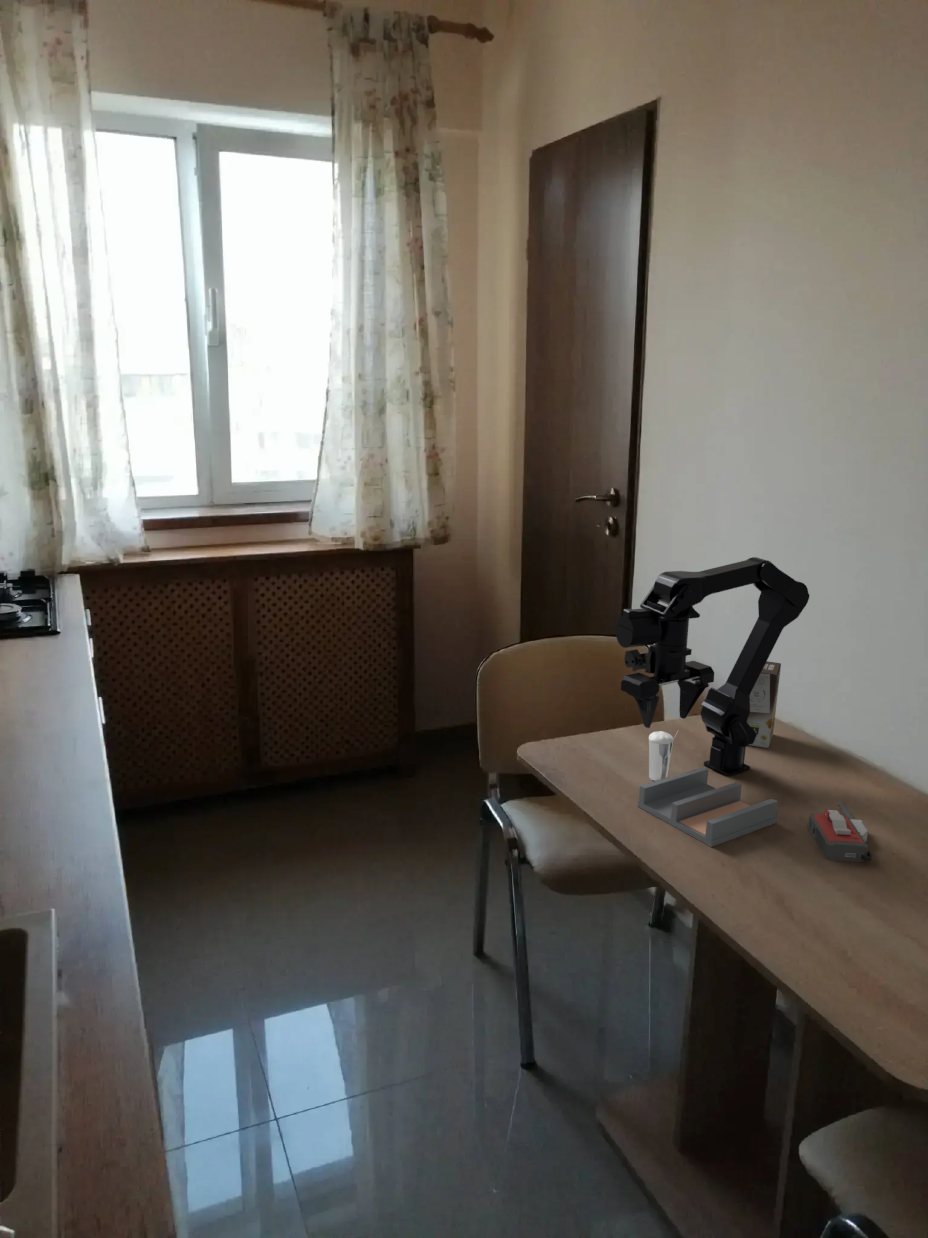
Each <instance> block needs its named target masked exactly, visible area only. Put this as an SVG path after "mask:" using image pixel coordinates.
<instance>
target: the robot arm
mask: <svg viewBox="0 0 928 1238" xmlns="http://www.w3.org/2000/svg"><path fill="white" fill-rule="evenodd" d="M748 585H753V586H754V587H755V588H756V589H757V591H759V592H760V594H759V597H758V600H757V601H758V602H757V605H758V606H757V609H758V610H757V611H758V617H757V619H756V621H755V624H754V626H753V628H752V630H751V632H750V634H749V635H748V638H747V639H746V642H745V643H744V646H743V647H742V650H741V651H740V653H739V655H738V657H737V660H736V662H735V663H734V665H733V667H732V668H731V671H730V673H729V674H728V678H727V679H726V681H725V683H724V684H723V685H721V686H720V687H718V688H714V687H709V686H710V684H709V683H711V684H712V683H714V680H715V671H714V669H713V668H712V666H710V665H708V664H705V663H703V662H702V663H701V662H698V661H696V660H691V661H690V660H689V661H687V656H692V650H693V649H692V648H689V647H688V640H689V639H688V637H689V626H690V625H689V624H690V623H689V622H690V620H691V619H698V618H700V617H701V614H700V613H699V612H698V611H697V610H696V609H695V608H694V606H695V605H697V604H700V603H701V602H703V600H704V599H705V598H706V597H708V596H710V595H713V594H718V593H722V592H725V591H729V590H732V589H737V588H741V587H744V586H748ZM809 600H810V593H809V589H808V587H807V585H806V584H805V583H804V582H801V581H797V580H796V579H794V578H793V577H791V576H789V575H788V574H787V573H785V572H783V571H782V570H781V569H779V567H777V566H776V565H775V564H774V563H773V562H772V561H770V560H767V559H763V558H760V557H757V556H754V557H753V556H752V557H749V558H748V559H746V560H742V561H738V562H733V563H729V564H726V565H725V564H724V565H721V566H717V567H713V568H709V569H704V570H701V571H686V570H685V571H684V570H675V571H674V570H672V571H671V570H670V571H664V572H661V573H660V574H658V576H657V578H656V580H655V581H654V584H653V586H652V587H651V589H650V590H649V591H648V593H647V594H646V596H645V597H644V599H643V600H642V602H640V605H639V607H640V608H634V609H633V608H624V609H623V610H622V615H621V616H620V617H619V618H618V620H617V622H616V624H615V627H614V628H615V630H614V631H615V637H616V640H617V642H618V645H620V646H621V647H622V648H625V649H626V648H637V647H645V646H649V647H648V651H643V652H642V651H641V652H640V651H639V650H638V649H631V650H630V649H629V650H625V653H624V665H625V667H626V668H627V669H629V668H631V671H632V672H635V673H632V674H627V675H624V676H623V677H622V678H621V681H620V691H623V692H625V693H626V694H627V695H629V696H631V697H633V698H634V700H635V702H636V704H637V707H638V709H639V713H640V717H641V719H642V723H643V726H644V727H645V728H646V729H650V728H651V726H652V723H653V721H654V718H655V713H656V711H657V710H656V709H657V707H658V703H659V698H660V696H658V693H659V692H660V687H663V686H665V685H669V684H675V683H677V685H678V687H679V707H678V708H679V710H678V711H679V718H681V719H683V720H684V719H686V718H687V716H688V715H689V713H690V711H691V710H692V708H693V707H694V706H695V704H696V702H697V701H698V699H699V698H700V697H701V695H702V694H703V692H704V691H705V690H706V688H708V687H709V690H708V691H707V694H706V697H705V699H704V700H703V702H702V703H701V704H700V706H701V709H700V717H701V722H703V724H704V725H705V730H706V732H707V733H710V734H712V735H714V736H713V737H711V739H712V740H711V746H710V751H709V759H708V760H706V761H704V762H703V765H704V766H706V767H707V768H710V769H712V770H715V771H717V772H718V773H721V774H723V775H726V776H733V775H736V774H739V773H741V772H745V771H748V770H751V766H750V765H747V764H745V757H746V749H747V747H748V746H750V745H749V744H753V743H754V740H755V738H756V735H757V733H756V732H755V731H754V730H753V729H752V728H751V727H750V726H749V724H748V723H747V719H748V717H749V714H750V693H751V691H752V689H753V687H754V685H755V683H756V681H757V679H758V677H759V675H760V673H761V671H762V669H763V667H764V665H765V663H766V662H767V661H768V660H769V658H770V656H771V654H772V651H773V649H774V648H775V645H776V643H777V642H778V640H779V637H780V635H781V633H782V632H783V629H784V628H785V627H786V626H788V625H790V624H791V623H792V622H794V621H795V620H796V619H798V617H800V615H801V613H802V612H803V610H804V609H805V607H807V604H808V602H809ZM659 602H661V603H662V604H661V603H659ZM663 604H666V605H667V606H666V605H663ZM638 670H640V671H641V670H644V672H645V673H647V674H652V676H649V675H646V674H644V673H640V672H637V671H638Z"/></svg>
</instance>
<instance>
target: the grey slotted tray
mask: <svg viewBox="0 0 928 1238" xmlns="http://www.w3.org/2000/svg"><path fill="white" fill-rule="evenodd" d="M708 777H709V768H708V767H707V768H706V767H705V766H702V767H698V768H696V769H691V770H688V771H686V772H682V773H679V774H675V775H671V776H669V777H668V776H667V778H665V779H661V780H658V781H651V782H647V783H645V784H642V785H639V795H638V801H637V807H638V808H640V809H642V810H643V811H645V812H647V813H649V814H650V815H652V816H654V817H657V818H658V819H660V820H662V821H663V822H665V823H667V824H669V825H670V826H672V827H674V828H676V829H678V830H679V831H681V832H683V833H685V834H687V835H689V836H691V837H692V838H694V839H696V840H698V841H700V842H701V843H704V844H705V845H707V846H709V847H711V848H713V847H715V846H718V845H721V844H723V843H726V842H729V841H731V840H734V839H737V838H740V837H742V836H745V835H747V834H748V835H749V834H750V833H753V832H755V831H759V830H761V829H764V828H766V827H770V826H772V825H774V824H776V823H777V809H778V800H776V799H773V798H769V799H766V800H763V801H760V802H758V803H755V804H752V805H751V804H749V803H747V802H746V801H745V802H744V801H743V800H741V795H742V786H743V785H742V784H741V783H739V782H737V781H735V782H732V783H729V784H726V785H723V786H720V787H717V788H715V787H714V786H712V785H710V784H708V780H709V779H708Z"/></svg>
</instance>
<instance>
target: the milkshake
mask: <svg viewBox="0 0 928 1238" xmlns="http://www.w3.org/2000/svg"><path fill="white" fill-rule="evenodd" d="M679 731H680V730H679V729H678V730H677V732H676V734H675V735H674V737H673V735H671V734H670V733H668V732H666V731H663V730H662V731H652V732H651V733H650V734H649V736H648V777H649V779H650V780H651V781H653V782H655V781H658V780H661V779H665V778H668V773H669V767H670V761H671V755H672V751H673V744H674V740H675V738H676V736H677V734H678V733H679Z"/></svg>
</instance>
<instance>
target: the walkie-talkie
mask: <svg viewBox="0 0 928 1238" xmlns="http://www.w3.org/2000/svg"><path fill="white" fill-rule="evenodd" d="M837 807H838V808H839V810H835V809H834V810H833V809H832V810H831V809H824V811H823V812H813V813H810V814H809V817H808V820H807V828H808V830H809V832H810V834H811V836H812V838H813V839H814V841H815V843H816V844H817V846H818V848H819V849H820V851H821V853H822V854H823V857H824V858H825V859H826V860H829V861H839V862H853V863H858V862H859V863H866V862H871V861H872V860H873V855H872V853H871V851H870V850H869V846H868V844H867V841H868V833H869V830H868V829H867V828H866V826H865V825H864V822H863V820H861V819H856V818H854V816H853V815H852V813H850V811H849V810H848V808H847V806H846V805H845V804H844V802H841V801H839V802H838V804H837Z"/></svg>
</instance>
